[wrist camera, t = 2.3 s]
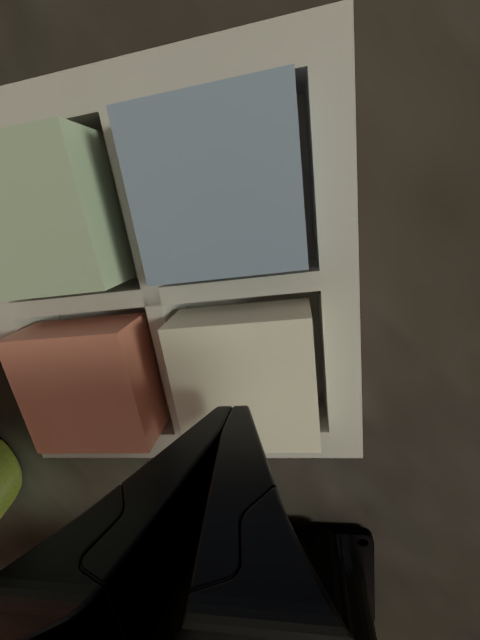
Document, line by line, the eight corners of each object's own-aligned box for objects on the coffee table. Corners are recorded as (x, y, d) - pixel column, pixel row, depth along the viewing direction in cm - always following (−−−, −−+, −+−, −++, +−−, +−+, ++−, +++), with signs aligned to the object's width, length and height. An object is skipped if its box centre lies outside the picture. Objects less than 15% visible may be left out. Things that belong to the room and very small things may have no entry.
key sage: (136, 276, 11) (104, 290, 9) (25, 288, 12) (-23, 304, 10) (102, 132, 10) (57, 115, 8) (-20, 157, 11) (-87, 147, 9)
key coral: (170, 417, 13) (149, 453, 11) (71, 419, 14) (37, 453, 12) (145, 312, 12) (116, 333, 10) (37, 321, 12) (-8, 342, 11)
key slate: (305, 256, 10) (308, 269, 8) (172, 272, 11) (147, 286, 9) (294, 92, 9) (294, 63, 7) (141, 123, 10) (105, 105, 8)
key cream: (317, 413, 12) (321, 452, 10) (201, 416, 13) (185, 453, 11) (309, 297, 11) (312, 317, 9) (179, 309, 11) (157, 330, 10)
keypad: (351, 413, 14) (362, 458, 12) (79, 420, 16) (43, 457, 14) (338, 47, 10) (353, -3, 8) (-21, 128, 12) (-97, 110, 10)
